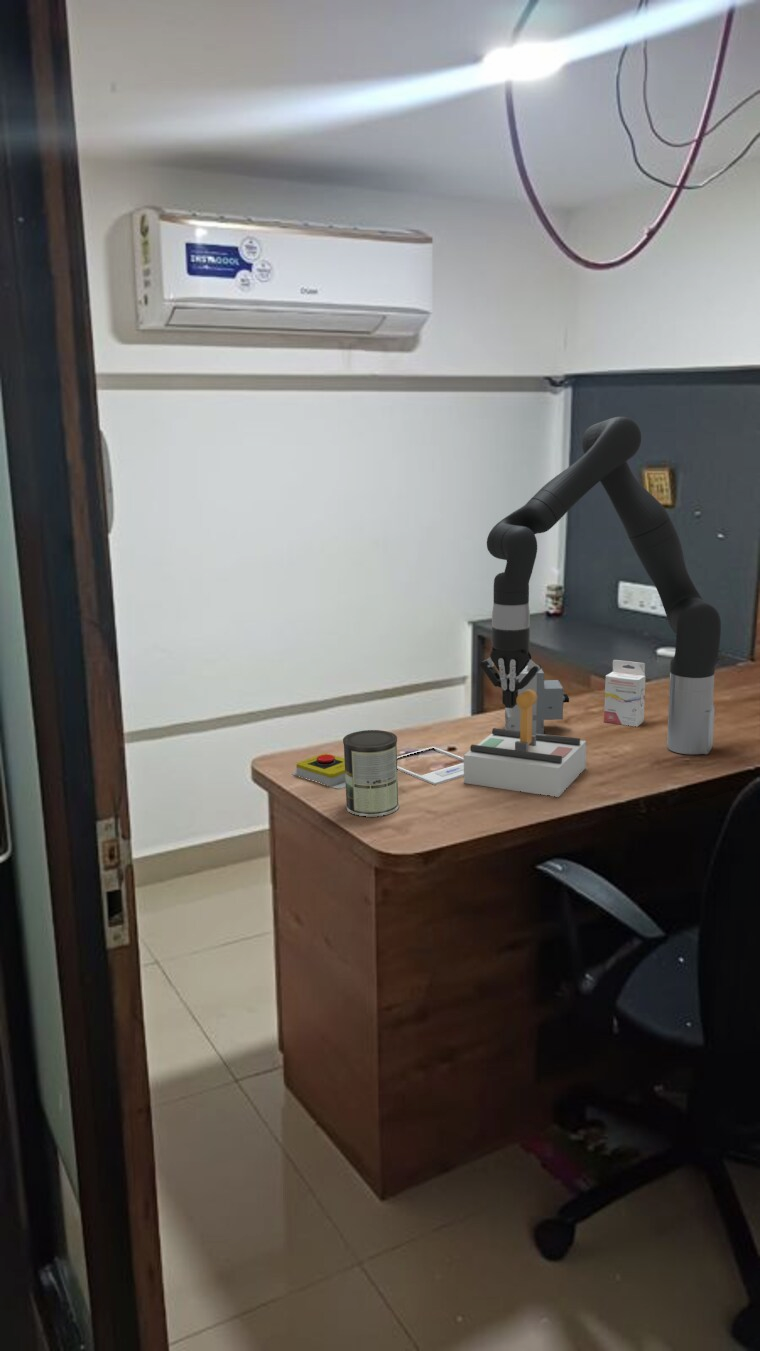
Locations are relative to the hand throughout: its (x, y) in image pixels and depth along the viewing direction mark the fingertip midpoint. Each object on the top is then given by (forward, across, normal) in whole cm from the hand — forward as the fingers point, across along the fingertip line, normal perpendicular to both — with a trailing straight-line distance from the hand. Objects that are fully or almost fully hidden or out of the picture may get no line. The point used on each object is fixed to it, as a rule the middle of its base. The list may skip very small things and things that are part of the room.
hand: (509, 707), depth 205 cm
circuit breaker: (+15, +4, -30) cm, 33 cm away
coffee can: (+15, +17, +28) cm, 36 cm away
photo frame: (+15, +16, +2) cm, 22 cm away
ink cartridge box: (+14, -12, -44) cm, 48 cm away
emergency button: (+16, +34, +16) cm, 41 cm away
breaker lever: (+8, -4, 0) cm, 9 cm away
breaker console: (+14, -4, 0) cm, 15 cm away
